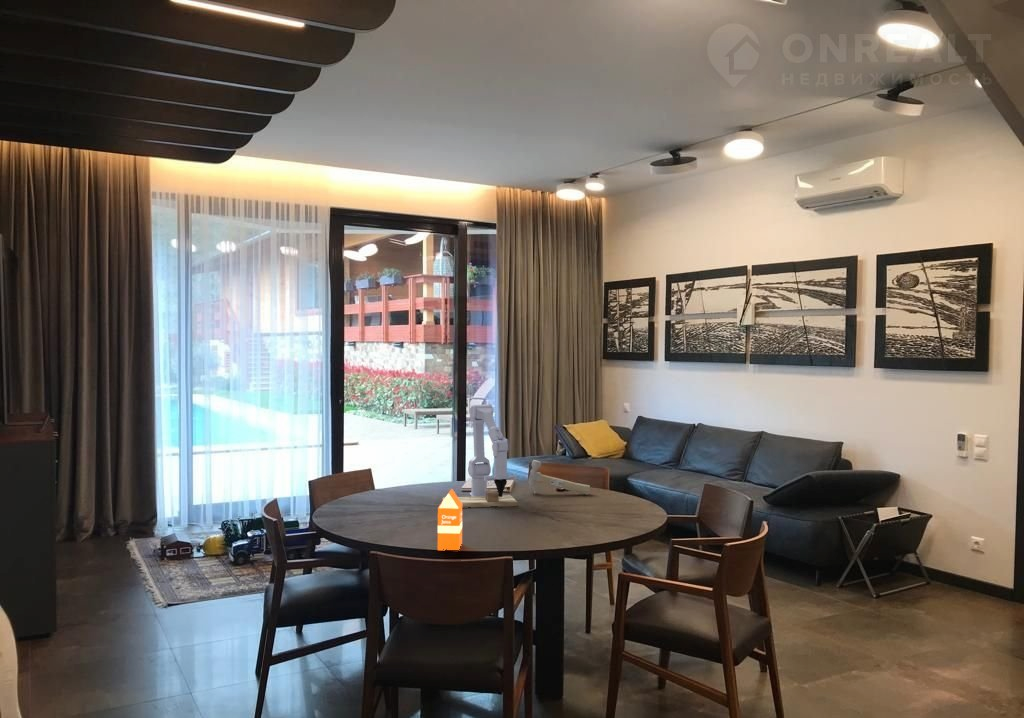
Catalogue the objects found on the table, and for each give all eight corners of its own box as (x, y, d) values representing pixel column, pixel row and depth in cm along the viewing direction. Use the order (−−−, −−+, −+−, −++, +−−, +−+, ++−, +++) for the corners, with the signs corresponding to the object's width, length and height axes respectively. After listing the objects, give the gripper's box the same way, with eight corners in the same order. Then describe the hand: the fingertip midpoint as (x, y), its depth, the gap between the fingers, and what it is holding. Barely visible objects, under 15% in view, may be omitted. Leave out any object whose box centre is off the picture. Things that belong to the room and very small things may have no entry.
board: (442, 501, 323) (442, 497, 323) (510, 499, 330) (510, 494, 330) (445, 508, 309) (445, 503, 309) (516, 505, 316) (517, 501, 316)
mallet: (483, 497, 324) (483, 488, 324) (494, 496, 325) (494, 488, 325) (487, 501, 314) (487, 492, 314) (498, 501, 315) (498, 492, 315)
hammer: (592, 474, 344) (532, 459, 347) (592, 476, 340) (532, 460, 342) (584, 505, 345) (525, 490, 347) (584, 507, 340) (524, 491, 343)
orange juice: (462, 544, 252) (462, 488, 251) (459, 550, 243) (459, 493, 243) (440, 543, 252) (441, 487, 252) (436, 550, 243) (437, 492, 243)
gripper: (486, 468, 312) (486, 498, 312) (518, 467, 315) (517, 497, 315) (483, 465, 319) (483, 495, 319) (514, 464, 322) (514, 494, 322)
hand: (500, 496), depth 317 cm, fingers closed
